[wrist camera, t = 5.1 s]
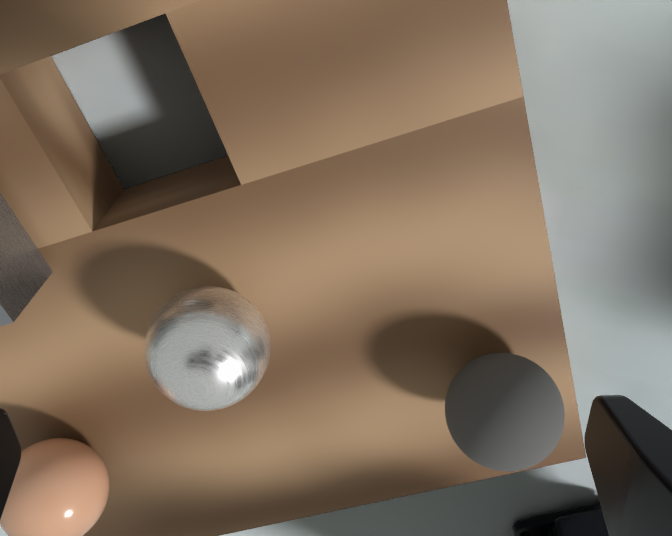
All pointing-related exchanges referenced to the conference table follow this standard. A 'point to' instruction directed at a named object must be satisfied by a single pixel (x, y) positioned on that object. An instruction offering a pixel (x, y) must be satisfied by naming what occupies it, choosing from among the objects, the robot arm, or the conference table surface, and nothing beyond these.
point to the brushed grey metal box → (18, 266)
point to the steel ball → (207, 348)
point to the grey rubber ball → (504, 412)
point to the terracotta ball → (56, 490)
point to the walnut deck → (282, 253)
